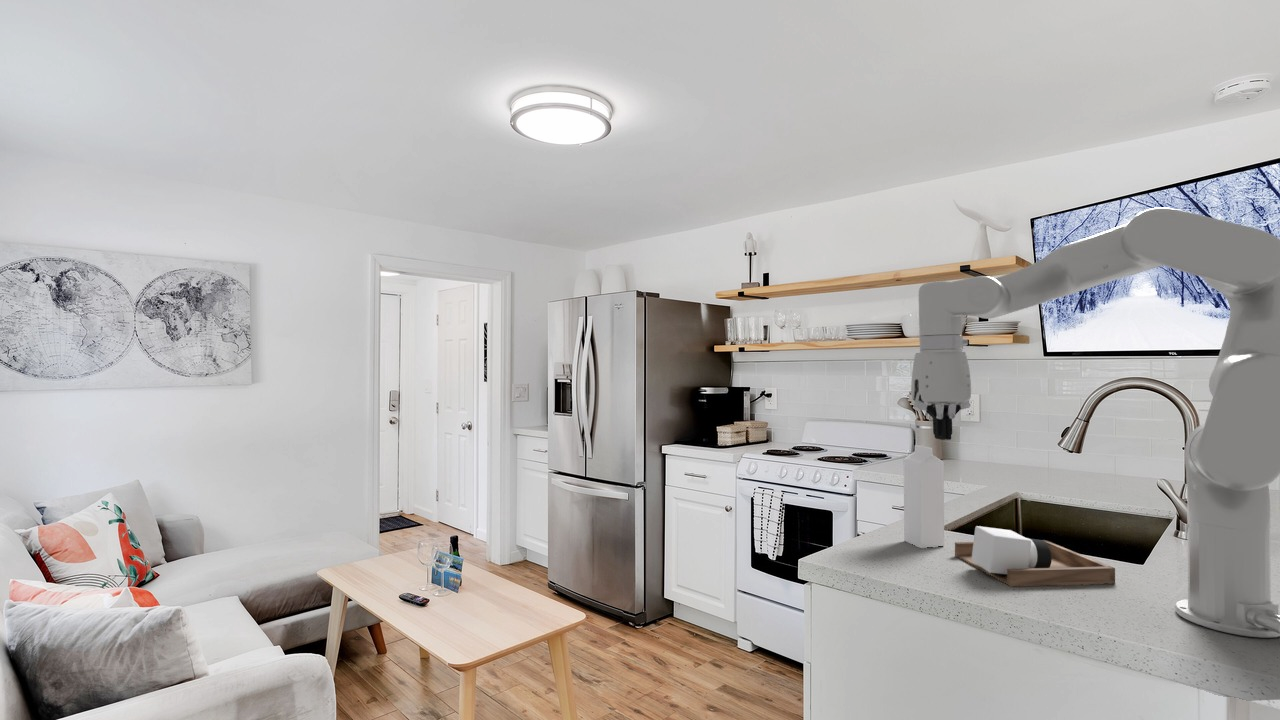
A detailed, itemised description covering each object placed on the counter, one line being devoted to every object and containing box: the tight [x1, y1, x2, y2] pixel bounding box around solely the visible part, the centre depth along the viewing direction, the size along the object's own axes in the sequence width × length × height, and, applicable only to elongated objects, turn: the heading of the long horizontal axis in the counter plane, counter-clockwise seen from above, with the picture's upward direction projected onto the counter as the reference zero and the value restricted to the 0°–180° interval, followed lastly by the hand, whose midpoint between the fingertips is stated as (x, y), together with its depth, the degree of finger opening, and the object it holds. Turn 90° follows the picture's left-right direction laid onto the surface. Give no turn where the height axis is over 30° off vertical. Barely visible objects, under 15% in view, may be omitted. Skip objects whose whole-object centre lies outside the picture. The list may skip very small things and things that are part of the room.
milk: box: [903, 444, 945, 549], centre depth 141 cm, size 6×6×22 cm
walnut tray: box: [954, 539, 1116, 587], centre depth 123 cm, size 18×20×3 cm
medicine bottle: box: [971, 525, 1052, 575], centre depth 120 cm, size 7×7×12 cm
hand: (942, 438), depth 122 cm, fingers closed
